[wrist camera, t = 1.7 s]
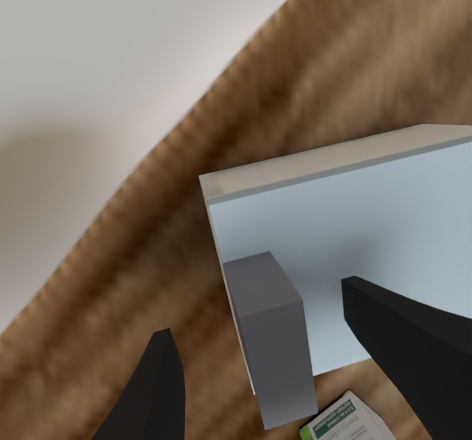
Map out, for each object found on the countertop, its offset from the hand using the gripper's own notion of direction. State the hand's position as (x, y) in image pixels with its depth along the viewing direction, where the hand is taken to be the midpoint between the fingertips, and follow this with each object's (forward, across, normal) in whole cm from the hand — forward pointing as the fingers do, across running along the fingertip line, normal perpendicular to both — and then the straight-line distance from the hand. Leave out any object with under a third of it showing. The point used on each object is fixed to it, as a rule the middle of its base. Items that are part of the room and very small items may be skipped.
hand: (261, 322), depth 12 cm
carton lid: (+2, -6, 0) cm, 6 cm away
